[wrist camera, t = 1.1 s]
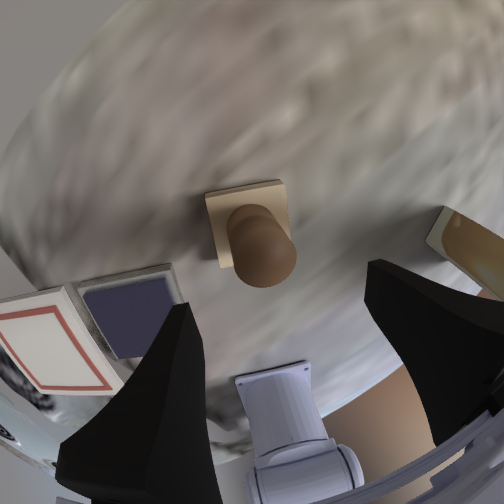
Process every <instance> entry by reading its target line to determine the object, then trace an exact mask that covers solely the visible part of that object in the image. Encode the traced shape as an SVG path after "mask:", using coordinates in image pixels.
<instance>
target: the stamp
mask: <svg viewBox="0 0 504 504" xmlns="http://www.w3.org/2000/svg"><path fill="white" fill-rule="evenodd" d="M205 200H206V205H207V209H208V214H209V219H210V223H211V228H212V232H213V237H214V241H215V246H216V250H217V255H218V259H219V263H220V268H221V269H222V268H227V267H231V266H234V268H235V272H236V274H237V275H238V277H239V278H240V279H241V280H242V281H243V282H244V283H246V284H248V285H250V286H253V287H259V288H265V287H271V286H274V285H276V284H278V283H280V282H282V281H283V280H285V279H286V278H287V277H288V276H289V275H290V273H291V272H292V270H293V269H294V266H295V263H296V249H295V247H294V244H293V243H292V241H291V238H290V228H289V217H288V207H287V198H286V189H285V183H283V182H282V181H281V180H279V179H278V180H272V181H266V182H260V183H254V184H249V185H243V186H238V187H233V188H227V189H222V190H217V191H212V192H208V193H205Z"/></svg>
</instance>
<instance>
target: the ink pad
mask: <svg viewBox="0 0 504 504" xmlns="http://www.w3.org/2000/svg"><path fill="white" fill-rule="evenodd" d="M77 290H78V292H79V294H80V296H81V298H82V300H83V302H84V304H85V306H86V307H87V309H88V311H89V313H90V315H91V317H92V318H93V320H94V322H95V324H96V325H97V327H98V329H99V331H100V332H101V334H102V336H103V337H104V339H105V341H106V342H107V344H108V345H109V347H110V349H111V350H112V352H113V353H114V355H115V356H116V358H117V359H125V358H135V357H144V356H145V354H146V352H147V351H148V349H149V348H150V346H151V344H152V342H153V341H154V339H155V337H156V335H157V333H158V332H159V330H160V328H161V326H162V324H163V322H164V320H165V319H166V317H167V315H168V313H169V311H170V309H171V307H172V306H173V305H176V304H181V303H185V302H184V299H183V297H182V294H181V291H180V288H179V285H178V282H177V279H176V276H175V273H174V270H173V267H172V264H171V263H169V264H164V265H159V266H155V267H150V268H145V269H140V270H136V271H131V272H126V273H121V274H117V275H112V276H107V277H103V278H98V279H93V280H88V281H84V282H81V283H80V285H79V286H78V288H77Z"/></svg>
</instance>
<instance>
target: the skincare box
mask: <svg viewBox="0 0 504 504" xmlns="http://www.w3.org/2000/svg"><path fill="white" fill-rule="evenodd" d="M425 241H426V243H427V244H428V245H429V246H431V247H432V248H433V249H434V250H435V251H437V252H438V253H439V254H440V255H442V256H443V257H444V258H445V259H447V260H448V261H450V262H451V263H452V264H453V265H455V266H456V267H457V268H458V269H460V270H461V271H462V272H464V273H465V274H466V275H467V276H469V277H470V278H471V279H472V280H473V281H475V282H476V283H477V284H478V285H479V286H480V287H482V288H483V289H484V290H485V291H486V292H487V293H489V294H490V295H491V296H492V297H493V298H494V299H495V300H496V301H503V302H504V239H503V238H501V237H500V236H498V235H496V234H495V233H493V232H491V231H490V230H488V229H486V228H485V227H483V226H481V225H480V224H478V223H476V222H474V221H473V220H471V219H469V218H467V217H466V216H464V215H462V214H460V213H458V212H456V211H455V210H453V209H451V208H449V207H447V206H444V208H443V210H442V212H441V213H440V215H439V217H438V219H437V220H436V222H435V224H434V226H433V228H432V229H431V231H430V233H429V235H428V236H427V238H426V240H425Z"/></svg>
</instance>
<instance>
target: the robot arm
mask: <svg viewBox="0 0 504 504" xmlns="http://www.w3.org/2000/svg"><path fill="white" fill-rule="evenodd" d="M364 302H365V304H366V306H367V308H368V310H369V312H370V314H371V316H372V318H373V319H374V321H375V322H376V324H377V325H378V327H379V328H380V330H381V331H382V332H383V334H384V335H385V337H386V338H387V339H388V341H389V342H390V344H391V345H392V346H393V348H394V349H395V351H396V352H397V354H398V355H399V356H400V358H401V360H402V361H403V363H404V364H405V366H406V368H407V370H408V372H409V374H410V376H411V378H412V380H413V382H414V384H415V387H416V389H417V392H418V394H419V396H420V398H421V401H422V404H423V407H424V409H425V412H426V415H427V418H428V422H429V425H430V429H431V433H432V437H433V442H434V444H435V446H436V448H435V449H433V450H431V451H430V452H428V453H426V454H425V455H423V456H421V457H420V458H418V459H416V460H414V461H413V462H411V463H409V464H407V465H405V466H403V467H401V468H400V469H397V470H396V471H393V472H392V473H389V474H387V475H385V476H383V477H381V478H379V479H377V480H374V481H372V482H370V483H367V484H365V485H364V478H363V473H362V469H361V466H360V464H359V461H358V459H357V457H356V455H355V454H354V452H353V451H352V450H351V449H350V448H349V447H346V446H345V445H343V444H339V445H337V446H336V443H335V441H334V438H332V439H329V438H328V435H327V433H326V430H325V428H324V425H323V422H322V420H321V417H320V415H319V412H318V409H317V407H316V404H315V402H314V399H313V396H312V394H311V391H310V374H311V364H310V362H309V361H304V362H300V363H296V364H293V365H289V366H285V367H281V368H276V369H272V370H268V371H263V372H259V373H254V374H249V375H245V376H240V377H237V378H235V384H236V387H237V390H238V393H239V395H240V398H241V401H242V404H243V406H244V409H245V412H246V415H247V417H248V420H249V425H250V430H251V435H252V440H253V445H254V450H255V454H256V458H255V459H254V462H255V467H256V468H255V467H250V468H249V469H248V471H247V472H246V473H245V476H244V481H245V489H246V495H247V499H248V503H249V504H366V503H368V502H371V501H373V500H376V499H378V498H380V497H382V496H384V495H386V494H388V493H391V492H393V491H395V490H396V489H399V488H400V487H403V486H404V485H406V484H408V483H410V482H412V481H414V480H415V479H417V478H419V477H420V476H422V475H424V474H425V473H427V472H429V471H431V470H432V469H434V468H435V467H437V466H438V465H440V464H441V463H443V462H444V461H446V460H447V459H449V458H450V457H452V456H453V455H454V454H456V453H457V452H459V451H460V450H461V449H463V448H464V447H465V446H466V447H465V452H464V454H463V455H462V456H461V457H460V458H459V459H457V460H456V461H455V462H453V463H452V464H450V465H449V466H447V467H446V468H445V469H443V470H442V471H440V472H438V473H437V474H436V475H434V476H432V477H431V478H430V481H431V483H432V485H433V488H431V489H430V490H428V491H426V492H424V493H423V494H421V495H419V496H417V497H416V498H414V499H412V500H410V501H408V502H406V503H405V504H504V302H503V301H496V300H491V299H486V298H481V297H477V296H474V295H470V294H467V293H463V292H460V291H457V290H454V289H451V288H449V287H446V286H444V285H441V284H439V283H436V282H434V281H431V280H429V279H427V278H424V277H422V276H420V275H418V274H415V273H413V272H411V271H409V270H407V269H404V268H402V267H400V266H398V265H395V264H393V263H391V262H388V261H385V260H383V259H378V260H374V261H370V262H368V270H367V279H366V288H365V297H364ZM55 479H56V480H57V482H58V483H59V484H61V485H62V486H64V487H66V488H68V489H70V490H72V491H74V492H76V493H78V494H81V495H82V496H84V497H87V498H89V499H91V504H223V502H222V498H221V494H220V491H219V487H218V483H217V478H216V474H215V469H214V465H213V460H212V454H211V449H210V443H209V437H208V430H207V423H206V410H205V358H204V350H203V342H202V338H201V335H200V333H199V330H198V327H197V325H196V322H195V319H194V316H193V313H192V311H191V308H190V305H189V302H187V303H181V304H176V305H173V306H172V307H171V309H170V311H169V313H168V315H167V317H166V319H165V320H164V322H163V324H162V326H161V328H160V330H159V332H158V333H157V335H156V337H155V339H154V341H153V342H152V344H151V346H150V348H149V349H148V351H147V352H146V354H145V356H144V357H143V359H142V360H141V362H140V363H139V365H138V367H137V368H136V369H135V371H134V372H133V374H132V375H131V376H130V378H129V379H128V380H127V382H126V383H125V384H124V386H123V387H122V388H121V389H120V390H119V391H118V392H117V394H116V395H115V396H114V397H113V398H112V399H111V400H110V401H109V403H108V404H107V405H106V406H105V407H104V408H103V409H102V410H101V411H100V412H99V413H98V414H97V415H96V416H95V417H93V418H92V419H91V420H90V421H89V422H88V423H87V424H86V425H84V426H83V427H82V428H81V429H80V430H78V431H77V432H76V433H74V434H73V435H72V436H70V437H69V438H68V439H66V440H65V441H64V442H62V443H61V444H60V449H59V454H58V460H57V466H56V473H55ZM56 504H83V503H79V502H75V501H72V500H68V499H64V498H61V497H56Z"/></svg>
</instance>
